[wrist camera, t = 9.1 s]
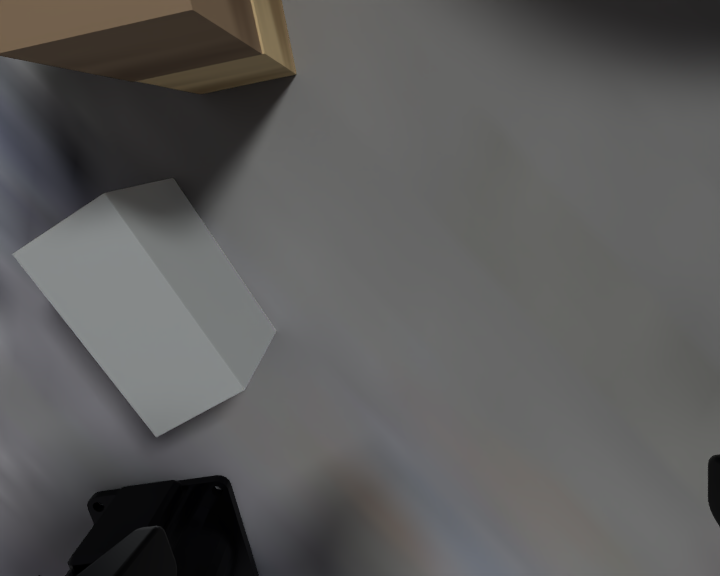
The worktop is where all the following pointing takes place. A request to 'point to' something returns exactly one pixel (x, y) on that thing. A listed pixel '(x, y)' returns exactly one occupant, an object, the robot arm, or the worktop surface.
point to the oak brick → (247, 70)
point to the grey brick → (152, 301)
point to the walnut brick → (128, 35)
